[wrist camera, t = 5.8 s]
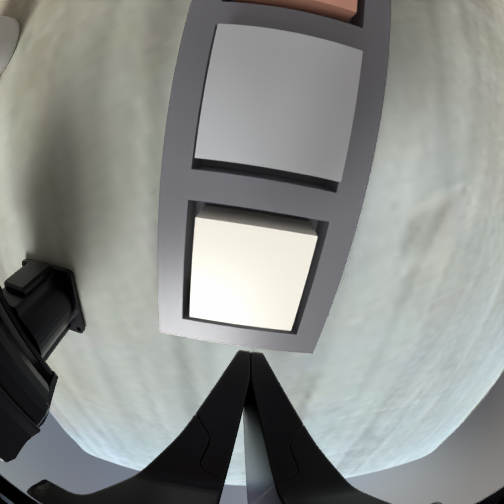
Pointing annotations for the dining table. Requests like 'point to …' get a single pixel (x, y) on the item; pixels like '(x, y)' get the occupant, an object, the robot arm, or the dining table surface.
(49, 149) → the dining table surface
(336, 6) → the terracotta key
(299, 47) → the grey key
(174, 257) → the frame
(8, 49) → the cup
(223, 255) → the cream key
